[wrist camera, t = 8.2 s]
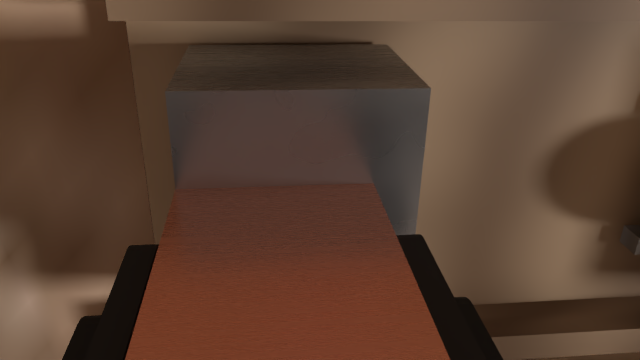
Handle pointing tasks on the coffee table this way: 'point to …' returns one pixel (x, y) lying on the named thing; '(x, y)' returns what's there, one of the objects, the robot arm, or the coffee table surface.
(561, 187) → the press base
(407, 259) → the robot arm
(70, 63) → the coffee table surface
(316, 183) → the salmon pink rectangular box
